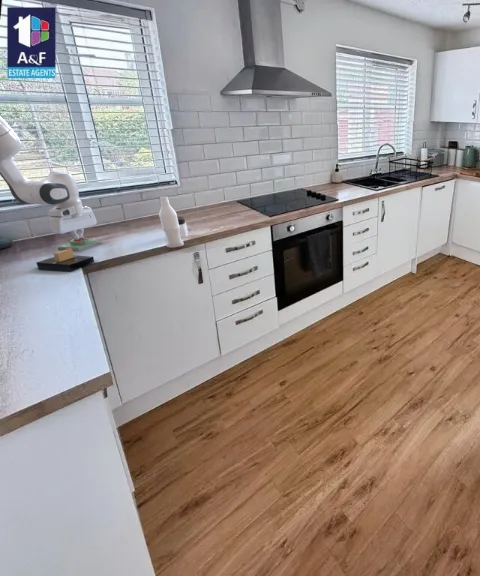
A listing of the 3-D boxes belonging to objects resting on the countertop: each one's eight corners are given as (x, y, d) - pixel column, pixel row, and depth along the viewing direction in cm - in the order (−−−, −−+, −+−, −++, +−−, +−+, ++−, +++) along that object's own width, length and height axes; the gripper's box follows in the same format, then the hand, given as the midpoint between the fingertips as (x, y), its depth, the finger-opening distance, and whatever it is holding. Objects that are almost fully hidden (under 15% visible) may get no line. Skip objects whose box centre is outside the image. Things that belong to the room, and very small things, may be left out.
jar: (174, 239, 191) (169, 216, 186) (191, 238, 193) (186, 215, 187) (168, 244, 183) (162, 221, 178) (186, 243, 185) (180, 220, 180)
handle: (60, 261, 145) (57, 252, 143) (55, 261, 145) (53, 252, 144) (74, 257, 151) (72, 248, 149) (70, 256, 151) (67, 248, 150)
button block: (59, 251, 167) (56, 242, 165) (83, 243, 179) (81, 235, 177) (79, 252, 166) (77, 244, 164) (102, 245, 178) (100, 236, 176)
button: (72, 243, 170) (71, 239, 169) (79, 241, 173) (78, 237, 173) (80, 244, 169) (79, 240, 169) (87, 241, 173) (86, 238, 172)
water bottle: (171, 253, 170) (157, 199, 159) (165, 250, 174) (152, 197, 164) (187, 250, 175) (175, 197, 164) (181, 246, 179) (169, 194, 168)
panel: (38, 269, 144) (36, 262, 143) (63, 261, 155) (61, 254, 153) (71, 272, 143) (69, 264, 142) (94, 263, 154) (92, 256, 152)
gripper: (84, 204, 175) (91, 233, 181) (43, 212, 156) (53, 244, 162) (96, 205, 175) (103, 234, 180) (56, 213, 156) (66, 245, 161)
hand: (79, 238), depth 171 cm, fingers closed, pressing on button
